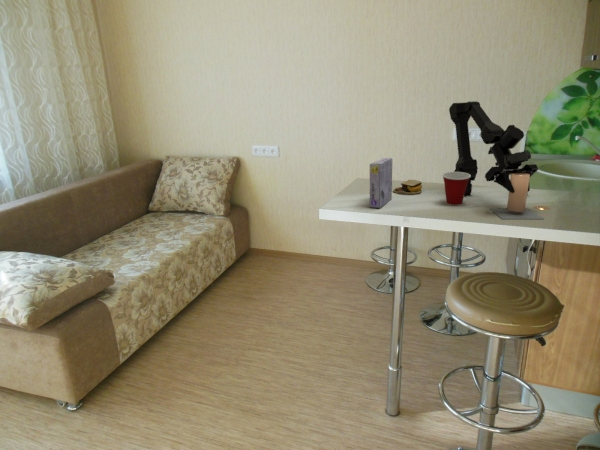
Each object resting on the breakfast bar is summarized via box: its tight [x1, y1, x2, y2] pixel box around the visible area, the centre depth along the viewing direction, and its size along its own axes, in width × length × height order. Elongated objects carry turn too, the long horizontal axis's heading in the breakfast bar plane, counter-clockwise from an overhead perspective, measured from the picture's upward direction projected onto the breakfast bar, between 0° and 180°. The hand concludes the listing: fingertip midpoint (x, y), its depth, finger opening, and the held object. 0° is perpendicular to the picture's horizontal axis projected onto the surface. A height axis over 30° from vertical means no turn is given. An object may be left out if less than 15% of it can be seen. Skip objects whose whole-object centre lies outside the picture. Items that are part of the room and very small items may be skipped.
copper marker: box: [533, 205, 551, 211], centre depth 169 cm, size 6×6×1 cm
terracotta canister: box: [506, 173, 531, 212], centre depth 159 cm, size 6×6×13 cm
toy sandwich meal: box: [392, 179, 423, 196], centre depth 200 cm, size 12×14×5 cm
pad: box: [489, 207, 545, 221], centre depth 161 cm, size 14×14×1 cm
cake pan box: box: [369, 157, 393, 209], centre depth 179 cm, size 19×5×18 cm, turn 154°
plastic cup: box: [441, 171, 471, 206], centre depth 176 cm, size 11×11×12 cm
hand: (520, 191), depth 158 cm, fingers closed on terracotta canister, 6 cm apart
